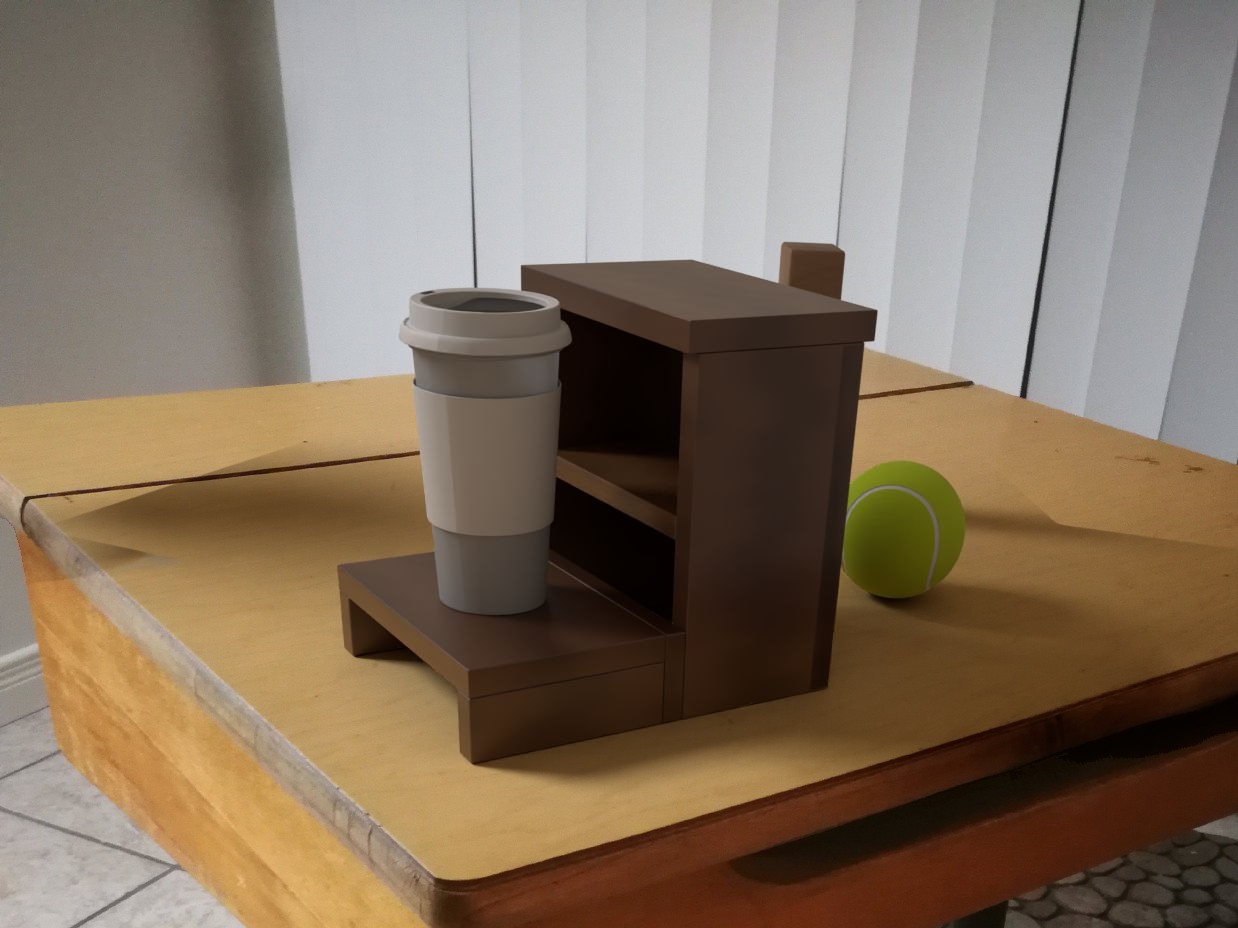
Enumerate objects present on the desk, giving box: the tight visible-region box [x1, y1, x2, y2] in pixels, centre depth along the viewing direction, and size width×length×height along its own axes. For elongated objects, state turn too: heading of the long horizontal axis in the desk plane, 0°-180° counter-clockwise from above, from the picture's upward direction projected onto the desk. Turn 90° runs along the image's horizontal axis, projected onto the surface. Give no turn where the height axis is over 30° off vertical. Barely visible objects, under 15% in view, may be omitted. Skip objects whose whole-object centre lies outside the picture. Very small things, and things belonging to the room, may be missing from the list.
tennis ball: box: [841, 460, 966, 599], centre depth 76 cm, size 7×7×7 cm
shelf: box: [336, 259, 879, 764], centre depth 62 cm, size 18×14×16 cm
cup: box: [398, 287, 572, 615], centre depth 59 cm, size 7×7×12 cm
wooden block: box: [777, 241, 846, 300], centre depth 89 cm, size 7×3×15 cm, turn 7°
